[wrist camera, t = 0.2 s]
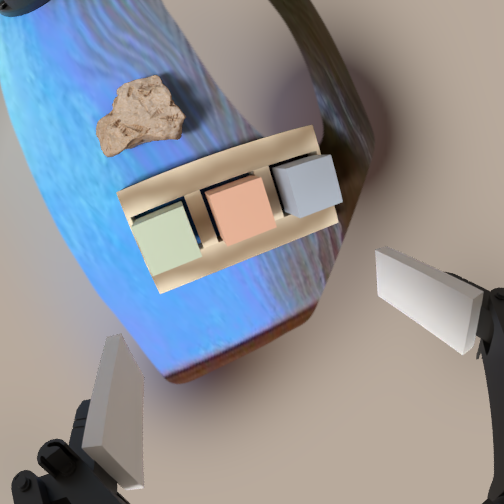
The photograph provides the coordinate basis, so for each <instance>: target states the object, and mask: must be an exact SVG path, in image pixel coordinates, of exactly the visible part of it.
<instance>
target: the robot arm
mask: <svg viewBox="0 0 504 504" xmlns="http://www.w3.org/2000/svg"><path fill="white" fill-rule="evenodd" d="M48 1H49V0H0V13H1V14H2V15H4V16H8V17H15V16H20V15H23V14H26V13H29V12H31V11H33V10H35V9H37V8H38V7H40V6H42V5H43V4H45V3H46V2H48ZM375 254H376V270H377V289H378V296H379V297H381V298H382V299H384V300H385V301H387V302H388V303H390V304H391V305H392V306H394V307H395V308H397V309H398V310H400V311H401V312H403V313H404V314H405V315H407V316H408V317H410V318H411V319H413V320H414V321H416V322H417V323H418V324H420V325H421V326H423V327H424V328H425V329H427V330H428V331H430V332H431V333H433V334H434V335H435V336H437V337H438V338H440V339H441V340H442V341H444V342H445V343H446V344H448V345H449V346H451V347H452V348H453V349H455V350H456V351H458V352H459V353H460V354H462V355H464V354H465V353H466V352H467V351H469V350H470V349H471V348H472V347H473V346H474V342H475V337H476V336H478V337H480V338H481V340H480V344H479V348H478V352H477V357H476V359H479V355H480V354H482V359H483V364H484V369H485V375H486V380H487V387H488V393H489V401H490V408H491V418H492V429H493V443H494V478H493V481H492V484H491V486H490V489H489V493H488V499H487V500H486V501H485V502H483V503H482V504H504V288H495V289H493V290H491V292H490V291H488V290H486V289H484V288H482V287H480V286H478V285H476V284H474V283H472V282H468V280H466V279H462V277H460V276H458V275H455V274H453V273H448V272H443V271H441V270H439V269H436V268H434V267H432V266H430V265H428V264H426V263H424V262H421V261H419V260H417V259H415V258H413V257H410V256H408V255H406V254H404V253H401V252H399V251H397V250H395V249H392V248H390V247H388V246H385V247H381V248H379V249H376V250H375ZM143 396H144V376H143V374H142V372H141V370H140V369H139V367H138V365H137V363H136V361H135V360H134V358H133V356H132V354H131V352H130V350H129V348H128V346H127V344H126V342H125V340H124V338H123V336H122V334H117V335H113V336H110V337H107V339H106V342H105V346H104V349H103V353H102V357H101V360H100V365H99V368H98V372H97V376H96V380H95V384H94V388H93V393H92V397H91V399H89V400H84V401H82V403H81V405H80V406H79V407H78V409H77V411H76V415H75V421H74V423H73V429H72V432H71V437H70V441H69V446H68V445H67V443H66V442H64V441H63V440H61V439H53V440H50V441H48V442H46V443H45V444H44V445H43V446H42V447H41V448H40V450H39V452H38V456H37V461H38V464H39V465H40V466H41V467H42V468H43V469H44V470H46V471H47V472H48V473H49V474H47V475H44V476H41V477H37V476H36V475H35V474H34V473H32V472H31V471H28V470H24V471H21V472H19V473H18V474H17V475H16V476H15V477H14V478H13V481H12V488H11V489H12V495H13V500H14V504H130V503H129V502H128V501H127V500H126V499H125V498H124V497H123V496H122V495H121V494H119V493H118V492H117V483H118V484H119V485H120V486H121V487H122V488H124V489H125V490H131V489H140V488H144V472H143Z"/></svg>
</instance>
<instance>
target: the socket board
mask: <svg viewBox="0 0 504 504" xmlns="http://www.w3.org/2000/svg"><path fill="white" fill-rule="evenodd" d="M307 153H308V156H311V155H321V152H320V149H319V145H318V142H317V139H316V135H315V132H314V129H313V125H309V126H304V127H301V128H297V129H293V130H289V131H286V132H282V133H279V134H276V135H272V136H268V137H265V138H261V139H258V140H255V141H252V142H248V143H245V144H242V145H239V146H236V147H233V148H230V149H227V150H224V151H221V152H218V153H215V154H212V155H209V156H206V157H203V158H201V159H198V160H195V161H192V162H190V163H187V164H184V165H182V166H179V167H176V168H174V169H171V170H169V171H166V172H163V173H161V174H158V175H156V176H154V177H151V178H149V179H146V180H144V181H141V182H139V183H137V184H134V185H132V186H130V187H127V188H125V189H123V190H120V191H118V192H116V193H117V195H118V198H119V201H120V203H121V206H122V208H123V211H124V213H125V216H126V218H127V221H128V223H129V226H130V228H131V226H132V225H133V223H134V222H135V220H136V219H135V216H136V215H138V214H140V213H143V212H145V211H147V210H150V209H152V208H155V207H157V206H160V205H162V204H164V203H167V202H169V201H172V200H174V199H177V198H180V197H182V196H184V198H185V200H186V203H187V206H188V208H189V211H190V214H191V216H192V219H193V222H194V224H195V227H196V229H197V232H198V235H199V237H200V240H201V243H199V244H198V246H199V249H200V251H201V254H202V257H200V258H198V259H195V260H193V261H190V262H188V263H185V264H183V265H180V266H178V267H175V268H173V269H170V270H168V271H165V272H163V273H160V274H158V275H155V276H152V274H151V272H150V274H151V276H152V278H153V280H154V282H155V284H156V286H157V289H158V291H159V293H160V294H162V293H164V292H167V291H169V290H172V289H174V288H177V287H179V286H182V285H184V284H187V283H189V282H192V281H194V280H197V279H199V278H202V277H204V276H207V275H209V274H212V273H214V272H217V271H219V270H222V269H224V268H227V267H229V266H232V265H234V264H237V263H239V262H242V261H244V260H247V259H249V258H252V257H254V256H257V255H259V254H262V253H264V252H267V251H269V250H272V249H274V248H276V247H279V246H281V245H284V244H286V243H289V242H291V241H294V240H296V239H299V238H301V237H304V236H306V235H309V234H311V233H314V232H316V231H318V230H321V229H323V228H326V227H328V226H331V225H333V224H336V223H338V219H337V214H336V210H335V206H331V207H328V208H326V209H323V210H321V211H318V212H315V213H313V214H310V215H307V216H305V217H302V218H298V217H296V216H294V215H292V214H289V213H287V212H285V211H282V209H281V205H280V202H279V199H278V195H277V192H276V189H275V186H274V182H273V179H272V176H271V173H270V169H269V166H268V165H272V164H275V163H278V162H281V161H284V160H287V159H290V158H294V157H297V156H300V155H303V154H307ZM245 173H249V176H257V177H261V178H262V181H263V184H264V187H265V190H266V194H267V197H268V200H269V203H270V206H271V210H272V213H273V216H274V219H275V223H276V226H277V227H276V228H274V229H271V230H269V231H266V232H264V233H261V234H258V235H256V236H253V237H251V238H248V239H246V240H243V241H241V242H238V243H235V244H233V245H230V246H228V247H227V245H226V244H225V242H224V241H223V239H222V238H221V236H220V235H219V236H216V234H215V231H214V228H213V226H212V223H211V220H210V217H209V215H208V212H207V209H206V206H205V204H204V201H203V198H202V195H201V192H200V189H203V188H206V187H208V186H211V185H214V184H217V183H219V182H222V181H225V180H228V179H230V178H233V177H236V176H239V175H242V174H245ZM131 230H132V228H131ZM132 233H133V231H132ZM133 235H134V233H133ZM134 238H135V236H134ZM135 240H136V238H135ZM136 242H137V240H136ZM137 245H138V243H137ZM138 247H139V245H138ZM139 249H140V247H139ZM140 251H141V249H140ZM141 254H142V252H141ZM142 256H143V254H142ZM143 258H144V256H143ZM144 260H145V259H144ZM145 263H146V261H145ZM146 265H147V263H146ZM147 267H148V265H147ZM148 269H149V267H148ZM149 271H150V270H149Z"/></svg>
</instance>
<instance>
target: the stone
mask: <svg viewBox="0 0 504 504" xmlns="http://www.w3.org/2000/svg"><path fill="white" fill-rule="evenodd" d="M117 95H118V96H117V97H116V98H115V99H114V102H113V104H112V105H113V110H112V111H111V112H110V113H109V114H108V115H106V116H104V117H103V118H102V119H100V120H99V121H98V123H97V127H96V135H97V137H98V138H99V141H100V145H101V150H102V151H103V153H104V154H105V155H106V156H107V157H113V156H115V155H117V154H120V153H121V152H122V151H123V150H125V149H131V148H133V147H136V146H137V145H140V144H142V143H145V142H151V141H158V140H168V139H176V140H178V139H180V138H181V133H182V124H183V122H184V119H185V118H186V116H185V114H184V113H183V112H182V111H181V110H180V108H179V107H178V106H177V105H175V103H174V101H173V100H172V96H171V93H170V91H169V89H168V88H167V87H166V86H165V85H164V84H162V80H161V79H160V77H159V76H157V75H153V76H150V77H147V78H143V79H137V80H134V81H131V82H128V83H125V84H123V85H122V86H121V87H119V88H118V89H117Z"/></svg>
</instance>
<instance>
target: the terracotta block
mask: <svg viewBox="0 0 504 504" xmlns="http://www.w3.org/2000/svg"><path fill="white" fill-rule="evenodd" d="M205 195H206V198H207V201H208V203H209V206H210V209H211V212H212V214H213V217H214V220H215V223H216V225H217V228H218V231H219V234H220V236H221V238H222V239H223V241H224V242H225V244H226V245H227V247H228V246H230V245H233V244H235V243H238V242H241V241H243V240H246V239H248V238H251V237H253V236H256V235H258V234H261V233H264V232H266V231H269V230H271V229H274V228H276V227H277V226H276V223H275V219H274V216H273V213H272V210H271V206H270V203H269V200H268V197H267V194H266V190H265V187H264V184H263V181H262V178H261V177H257V176H247V177H244V178H241V179H238V180H235V181H233V182H230V183H227V184H224V185H222V186H219V187H216V188H213V189H211V190H208V191H205Z"/></svg>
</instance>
